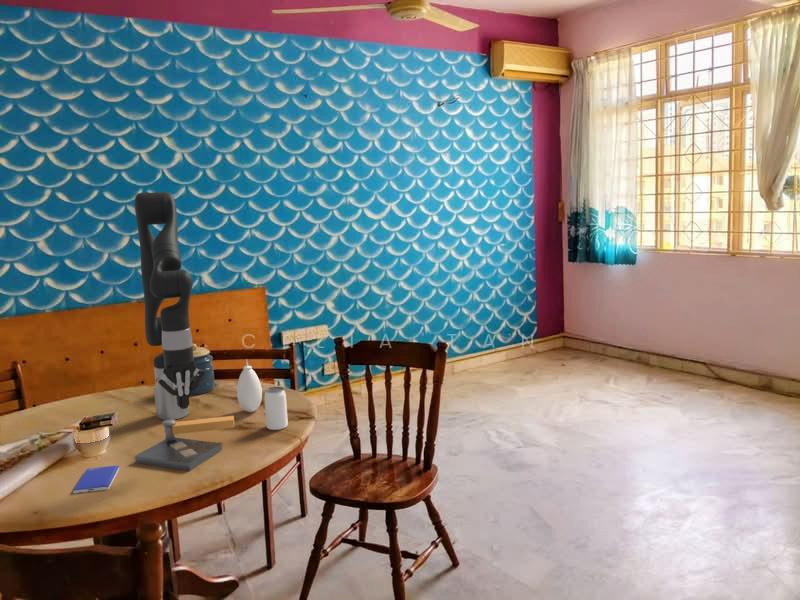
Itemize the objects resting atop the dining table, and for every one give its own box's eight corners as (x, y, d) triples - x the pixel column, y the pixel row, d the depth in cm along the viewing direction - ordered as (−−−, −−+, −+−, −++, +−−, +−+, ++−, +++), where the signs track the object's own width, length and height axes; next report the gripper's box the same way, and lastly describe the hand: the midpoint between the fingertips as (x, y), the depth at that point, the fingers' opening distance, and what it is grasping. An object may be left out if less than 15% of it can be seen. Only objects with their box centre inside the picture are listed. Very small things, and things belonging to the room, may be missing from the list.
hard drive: (86, 468, 171) (72, 489, 159) (118, 464, 173) (108, 485, 161) (86, 474, 171) (73, 495, 160) (119, 470, 173) (108, 491, 161)
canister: (178, 387, 243) (173, 342, 240) (213, 382, 247) (209, 338, 244) (179, 397, 231) (175, 349, 228) (217, 392, 236) (213, 345, 232)
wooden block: (163, 442, 184) (161, 424, 183) (164, 437, 188) (163, 420, 187) (234, 434, 188) (233, 416, 187) (234, 429, 192) (233, 412, 191)
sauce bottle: (254, 416, 209) (249, 362, 206) (234, 414, 212) (229, 361, 209) (267, 408, 216) (263, 356, 213) (248, 406, 219) (243, 355, 216)
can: (283, 431, 195) (280, 393, 193) (263, 430, 197) (260, 392, 195) (291, 423, 202) (288, 386, 200) (271, 422, 203) (268, 385, 201)
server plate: (135, 462, 176) (134, 454, 176) (170, 443, 189) (169, 435, 189) (190, 470, 170) (189, 462, 170) (222, 449, 183) (221, 442, 182)
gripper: (157, 352, 164) (164, 417, 167) (207, 343, 172) (212, 405, 175) (147, 347, 170) (154, 410, 173) (196, 338, 178) (201, 399, 181)
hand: (183, 407), depth 174 cm, fingers closed
